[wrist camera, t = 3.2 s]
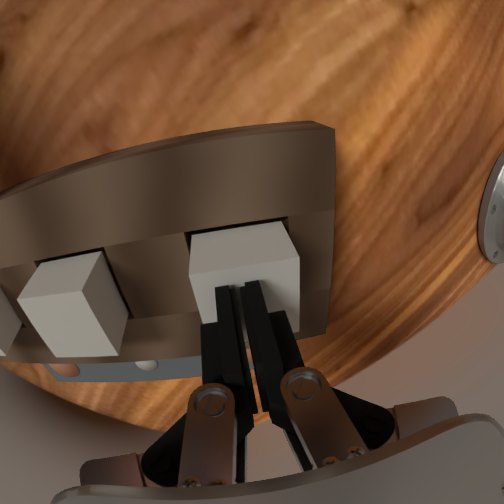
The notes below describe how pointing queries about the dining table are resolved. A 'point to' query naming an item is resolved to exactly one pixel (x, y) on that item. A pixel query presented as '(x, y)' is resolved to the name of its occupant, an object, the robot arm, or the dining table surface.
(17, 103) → the dining table surface
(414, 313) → the dining table surface
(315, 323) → the button board
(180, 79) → the dining table surface
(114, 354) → the button middle
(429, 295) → the dining table surface
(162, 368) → the pattern card
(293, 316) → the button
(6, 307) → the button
